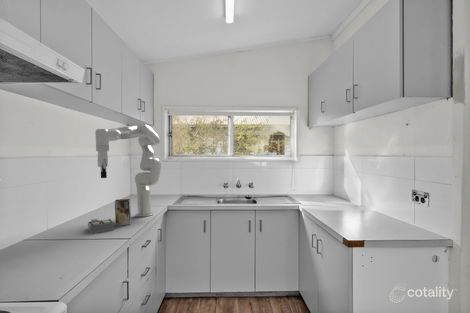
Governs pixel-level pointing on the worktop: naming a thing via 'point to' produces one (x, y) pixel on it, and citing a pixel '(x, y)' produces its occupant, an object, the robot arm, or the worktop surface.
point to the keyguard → (101, 227)
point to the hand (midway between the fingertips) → (103, 177)
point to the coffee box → (122, 212)
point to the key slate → (94, 220)
